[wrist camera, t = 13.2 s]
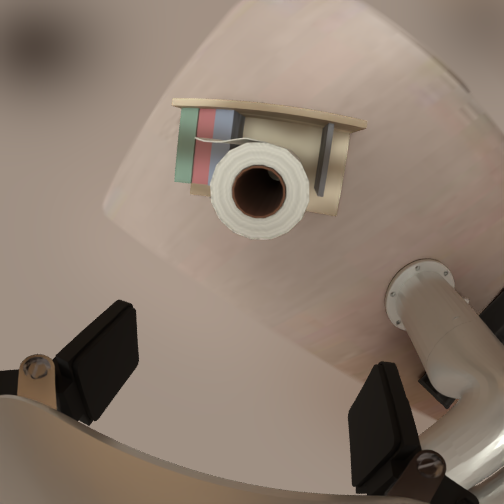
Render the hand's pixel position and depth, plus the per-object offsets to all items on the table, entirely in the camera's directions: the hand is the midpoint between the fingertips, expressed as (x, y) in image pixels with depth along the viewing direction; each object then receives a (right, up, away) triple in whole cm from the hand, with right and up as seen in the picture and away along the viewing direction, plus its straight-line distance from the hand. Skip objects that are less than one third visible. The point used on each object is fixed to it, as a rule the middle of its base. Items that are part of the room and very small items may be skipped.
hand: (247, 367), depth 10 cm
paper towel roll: (+4, +15, +27) cm, 31 cm away
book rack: (+2, +17, +28) cm, 32 cm away
